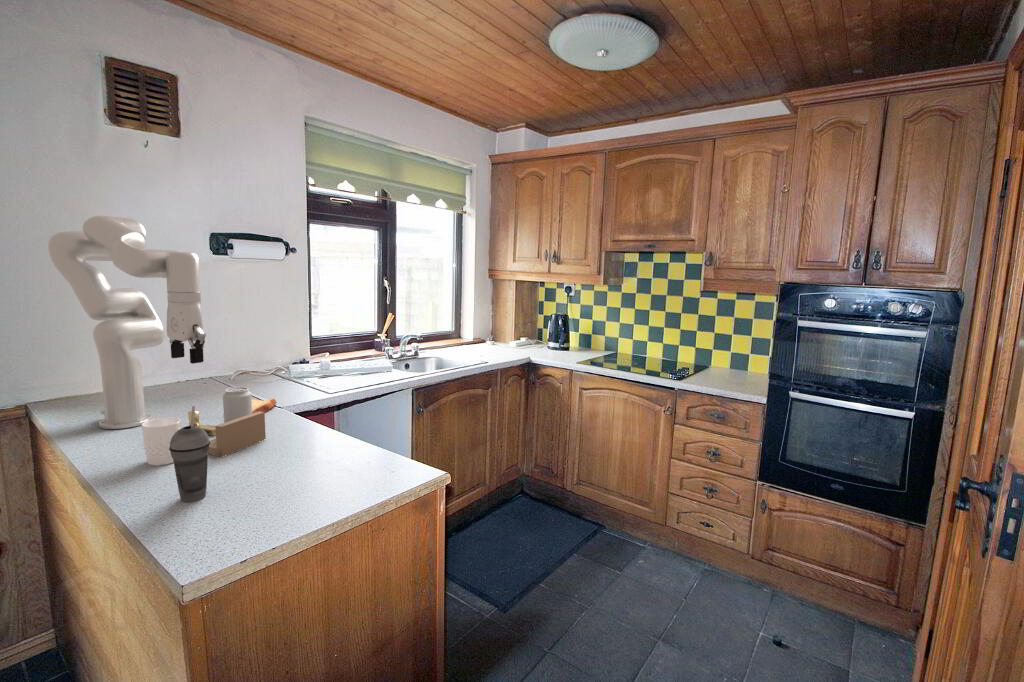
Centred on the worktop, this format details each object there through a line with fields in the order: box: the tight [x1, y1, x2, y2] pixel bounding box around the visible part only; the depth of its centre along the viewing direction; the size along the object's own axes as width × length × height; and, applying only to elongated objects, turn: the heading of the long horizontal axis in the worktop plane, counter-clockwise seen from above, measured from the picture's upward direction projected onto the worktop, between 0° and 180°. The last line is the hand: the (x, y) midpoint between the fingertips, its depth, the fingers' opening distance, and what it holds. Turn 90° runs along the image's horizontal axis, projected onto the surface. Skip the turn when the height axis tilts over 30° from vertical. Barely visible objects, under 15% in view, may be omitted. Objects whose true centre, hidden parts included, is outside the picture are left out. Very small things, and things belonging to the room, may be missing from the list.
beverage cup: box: [169, 405, 210, 503], centre depth 104 cm, size 7×7×20 cm
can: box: [222, 386, 253, 423], centre depth 148 cm, size 8×8×12 cm
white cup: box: [141, 416, 182, 466], centre depth 123 cm, size 8×8×10 cm
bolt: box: [187, 409, 216, 436], centre depth 137 cm, size 9×2×6 cm, turn 72°
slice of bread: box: [252, 397, 277, 413], centre depth 165 cm, size 18×18×4 cm
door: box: [181, 411, 267, 457], centre depth 137 cm, size 26×14×8 cm, turn 72°
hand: (187, 360), depth 137 cm, fingers open, 9 cm apart
